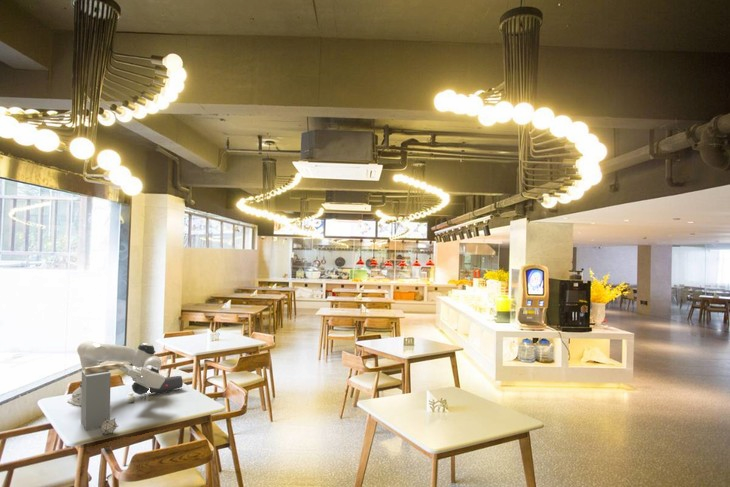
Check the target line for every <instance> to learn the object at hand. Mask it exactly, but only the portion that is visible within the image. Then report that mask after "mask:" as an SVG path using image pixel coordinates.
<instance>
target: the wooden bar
mask: <svg viewBox="0 0 730 487" xmlns="http://www.w3.org/2000/svg"><path fill="white" fill-rule="evenodd" d="M124 364H125V362H116V363H109V364H102V365H101V364H100V366H93V367H85V374H88V373H95V372H102V371H109V372H110V371H115V370H116V371H117V370H119V367H123V368H124Z"/></svg>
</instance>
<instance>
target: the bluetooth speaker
mask: <svg viewBox="0 0 730 487" xmlns="http://www.w3.org/2000/svg"><path fill="white" fill-rule="evenodd" d="M183 384H184V382H183V376H182V375H174V376H168V377H165V382H164V384H163V385H162V387H161V388H159V389H157V388H152V387H150V392H151V393H150V394H157V393H159V394H164V392H165V393H170V392H172V391H173V390H176V389H180V388H182V387H183Z"/></svg>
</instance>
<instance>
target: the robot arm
mask: <svg viewBox="0 0 730 487" xmlns="http://www.w3.org/2000/svg"><path fill="white" fill-rule="evenodd" d="M76 352H77V354H78V356H79V360H80V365H81V372H82V371H83V370H85V367H93V366H100V365H101V363H100V362H106V361H107V362H116V363H122V362H124V368H123V367H119V369H118V370H119V371H121V372H123V373H124V374H125V375H127V376H128V377H130V378H132V381H133V382H134V383H132V385H131V390H132V391H133V392H134V393H135V394H137V395H145V394H148V393H147V391H148V390H149V388H150V387H152V388H157V389H159V388H161V387H162V385H163V384H164V382H165V378H166V377H165V376H163V375H162V374H161V373H160V370H161V369H162V363H163V362H162V359H161V358H160V357H159V356H157V355H155V353H156V350H155V347H154V345H153V344H151V343H149V342H142V343H140V344H139V345H138V347H137V349H136V348H135V347H132V346H127V345H123V344H122V345H119V344H111V343H109V344H106V343H99V342H93V341H85V342H81V343H80V344H79V345H78V346H77V349H76ZM127 363H129V364H127ZM78 384H80V385H79V387H78V388H76V389H75V390H74V391H73V392H72V394H71V398H70V399H68V400H67V403H70V404H71V405H75V406H78V407H79V406H80V407H81V393H82V380H80V382H79V383H78Z"/></svg>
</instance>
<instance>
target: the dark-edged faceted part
mask: <svg viewBox="0 0 730 487" xmlns="http://www.w3.org/2000/svg"><path fill="white" fill-rule="evenodd" d="M99 427H100V429H101V431H102V436H104V435H105V434H106V435H107V434H112V435H114V431H115V430H116V429H117V428H118V427H119V425H117V422H116V418H113V419H111V418H110V420H106V419H105V421H104V423H103V424H102V425H101V426H99Z"/></svg>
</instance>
